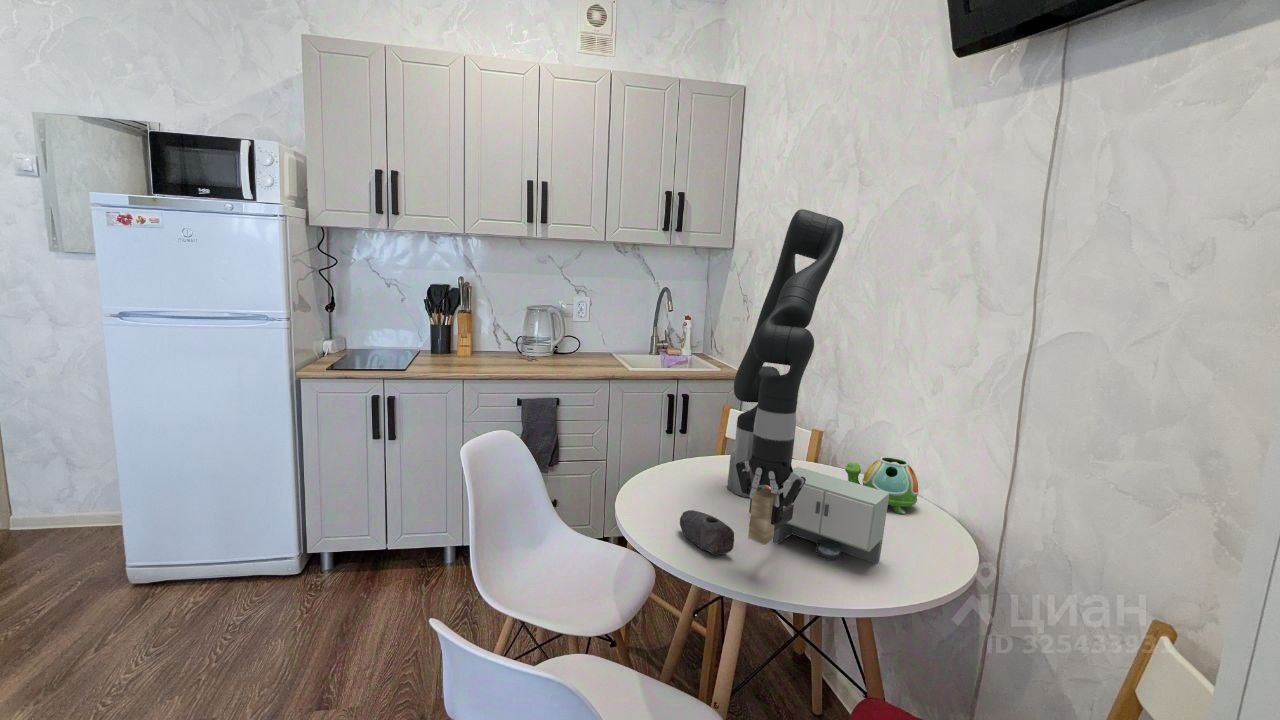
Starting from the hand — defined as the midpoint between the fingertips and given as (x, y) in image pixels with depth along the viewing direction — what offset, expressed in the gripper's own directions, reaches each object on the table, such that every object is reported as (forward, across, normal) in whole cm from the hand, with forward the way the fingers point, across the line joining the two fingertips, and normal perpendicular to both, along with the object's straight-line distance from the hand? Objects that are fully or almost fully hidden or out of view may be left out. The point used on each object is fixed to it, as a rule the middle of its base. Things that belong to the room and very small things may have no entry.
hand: (764, 519), depth 117 cm
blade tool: (+3, 0, -5) cm, 6 cm away
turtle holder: (+11, -6, -56) cm, 58 cm away
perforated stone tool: (+11, +14, -2) cm, 18 cm away
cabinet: (+11, -6, -18) cm, 22 cm away
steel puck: (+11, -7, -18) cm, 22 cm away
